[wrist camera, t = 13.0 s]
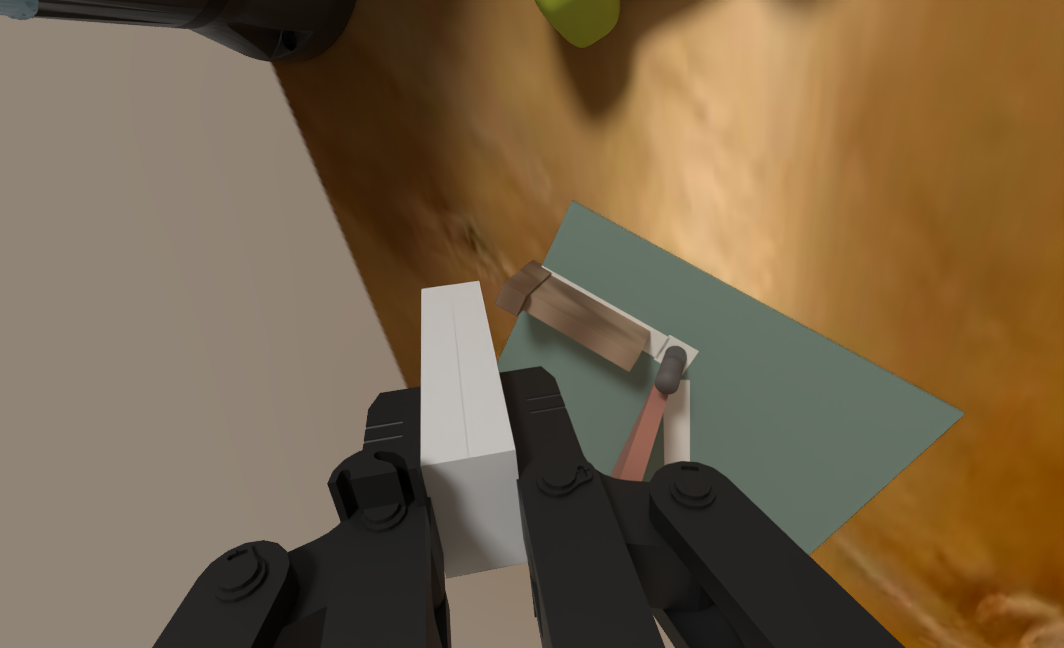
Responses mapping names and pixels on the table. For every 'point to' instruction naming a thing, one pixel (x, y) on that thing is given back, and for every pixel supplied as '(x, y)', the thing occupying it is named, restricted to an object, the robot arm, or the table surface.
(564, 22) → the dumbbell
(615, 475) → the gate panel
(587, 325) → the fence wall
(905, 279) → the table surface
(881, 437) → the card
